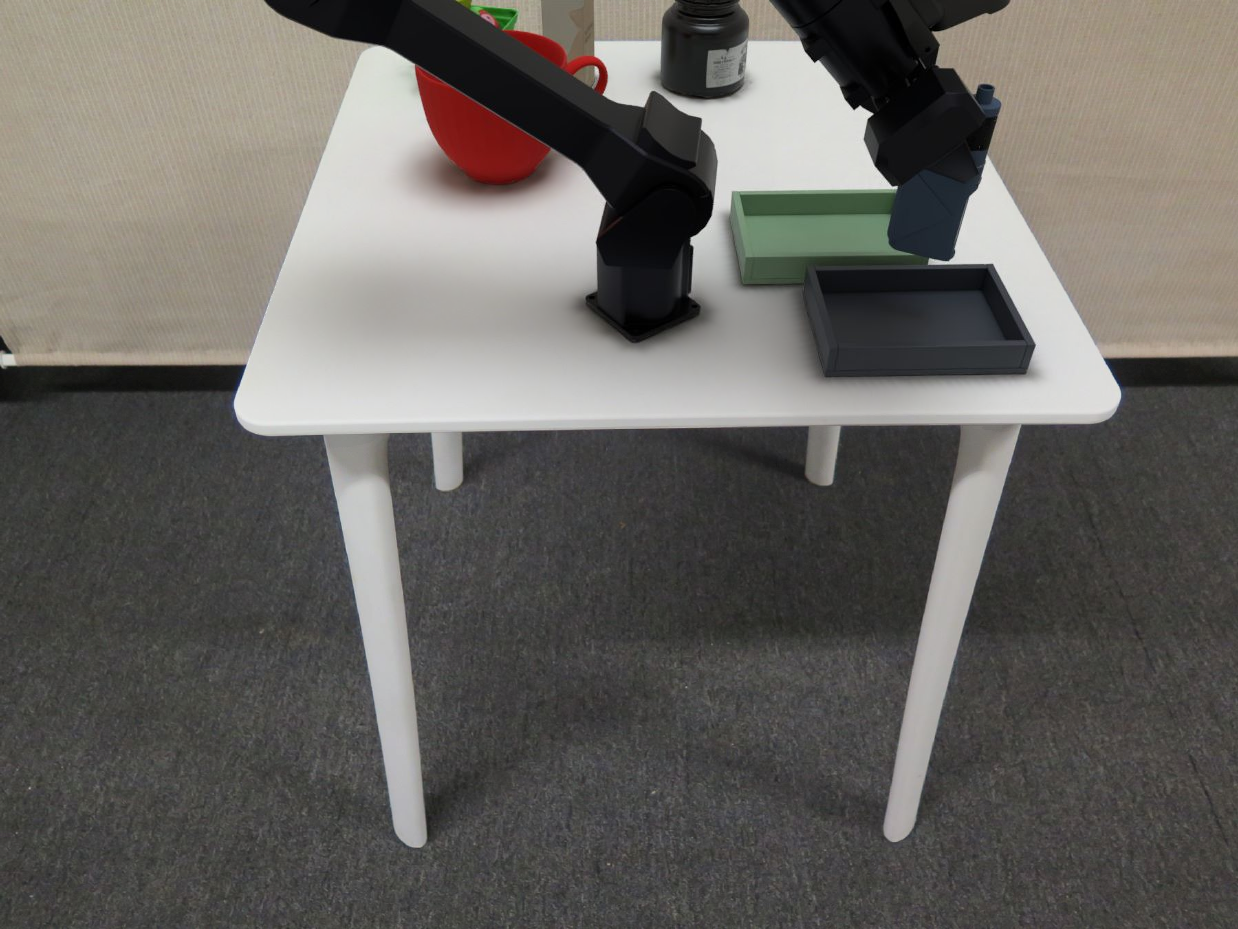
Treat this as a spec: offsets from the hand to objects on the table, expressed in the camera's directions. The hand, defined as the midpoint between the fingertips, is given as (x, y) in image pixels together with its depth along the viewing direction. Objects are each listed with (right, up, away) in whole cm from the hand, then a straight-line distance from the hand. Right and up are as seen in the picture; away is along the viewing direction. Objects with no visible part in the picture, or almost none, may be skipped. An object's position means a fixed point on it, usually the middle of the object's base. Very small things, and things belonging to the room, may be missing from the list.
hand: (964, 163), depth 68 cm
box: (-28, +19, +38) cm, 51 cm away
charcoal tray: (-2, -10, +7) cm, 12 cm away
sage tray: (-6, -2, +15) cm, 17 cm away
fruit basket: (-39, +21, +40) cm, 60 cm away
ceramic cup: (-32, +8, +26) cm, 42 cm away
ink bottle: (-14, +20, +39) cm, 46 cm away
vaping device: (-1, -5, +5) cm, 7 cm away
